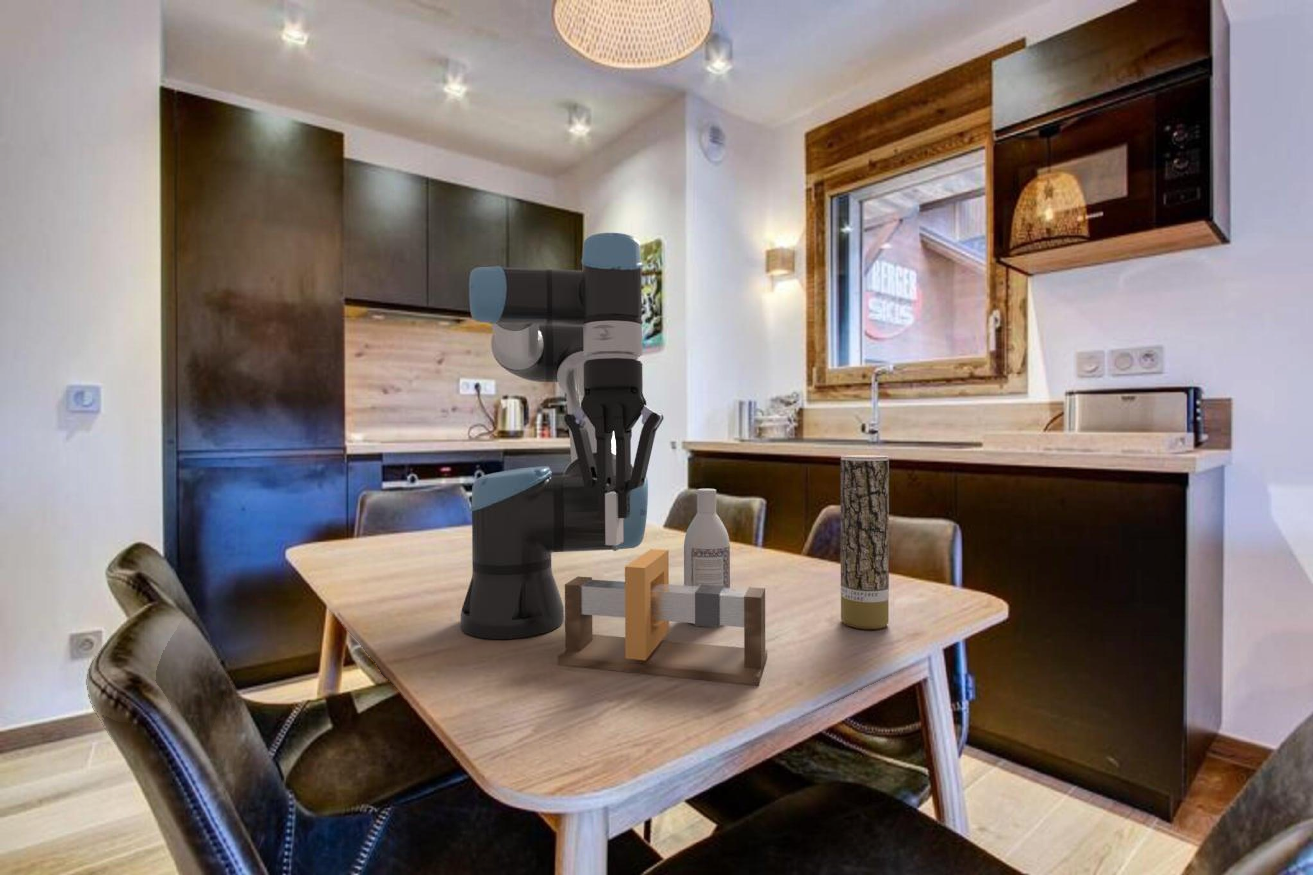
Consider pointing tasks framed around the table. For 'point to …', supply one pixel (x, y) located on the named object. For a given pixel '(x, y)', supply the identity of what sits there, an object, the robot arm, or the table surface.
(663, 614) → the rail
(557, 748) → the table surface
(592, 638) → the brown stand
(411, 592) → the table surface
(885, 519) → the paper tube
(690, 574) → the bath foam
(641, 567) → the orange square ring
